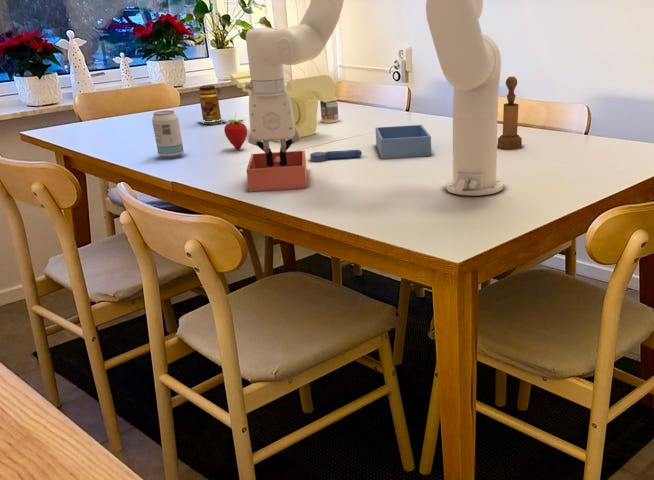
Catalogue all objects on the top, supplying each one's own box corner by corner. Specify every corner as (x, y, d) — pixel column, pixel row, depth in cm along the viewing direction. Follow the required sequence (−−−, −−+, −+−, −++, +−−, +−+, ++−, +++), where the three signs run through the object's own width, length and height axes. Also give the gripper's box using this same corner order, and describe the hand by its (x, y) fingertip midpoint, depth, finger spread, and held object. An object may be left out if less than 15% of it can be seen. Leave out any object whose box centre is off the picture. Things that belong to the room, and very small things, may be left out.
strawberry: (239, 146, 216) (234, 110, 211) (254, 149, 211) (249, 113, 207) (222, 149, 212) (217, 113, 208) (237, 153, 208) (232, 116, 203)
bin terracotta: (306, 187, 171) (304, 166, 169) (249, 191, 170) (246, 169, 168) (306, 170, 186) (304, 150, 184) (254, 173, 185) (251, 153, 183)
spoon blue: (361, 155, 199) (361, 147, 198) (362, 158, 195) (362, 151, 194) (310, 158, 198) (309, 150, 197) (310, 162, 194) (309, 154, 193)
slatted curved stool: (338, 135, 224) (333, 73, 216) (296, 145, 214) (290, 80, 206) (278, 125, 243) (272, 68, 235) (238, 133, 234) (230, 73, 225)
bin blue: (431, 155, 195) (431, 136, 193) (381, 158, 194) (380, 139, 192) (422, 142, 211) (421, 124, 208) (376, 145, 209) (375, 127, 207)
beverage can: (189, 154, 209) (181, 110, 203) (176, 159, 203) (168, 114, 198) (167, 153, 211) (159, 110, 205) (154, 159, 205) (145, 114, 199)
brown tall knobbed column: (520, 149, 198) (523, 78, 189) (496, 149, 199) (498, 78, 191) (522, 144, 203) (524, 74, 195) (498, 144, 205) (500, 75, 196)
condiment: (205, 126, 248) (199, 88, 243) (198, 122, 255) (193, 85, 250) (226, 123, 251) (221, 86, 246) (219, 119, 258) (214, 83, 252)
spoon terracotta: (269, 164, 183) (268, 156, 182) (287, 163, 183) (286, 155, 182) (267, 177, 171) (266, 169, 170) (286, 176, 171) (285, 167, 170)
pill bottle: (319, 121, 248) (316, 90, 243) (335, 119, 250) (332, 88, 245) (325, 123, 243) (322, 92, 239) (341, 121, 245) (339, 90, 241)
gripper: (231, 91, 164) (242, 174, 173) (303, 87, 165) (310, 170, 174) (234, 87, 171) (245, 167, 179) (303, 83, 172) (310, 163, 181)
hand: (277, 168), depth 177 cm, fingers closed on spoon terracotta, 2 cm apart
